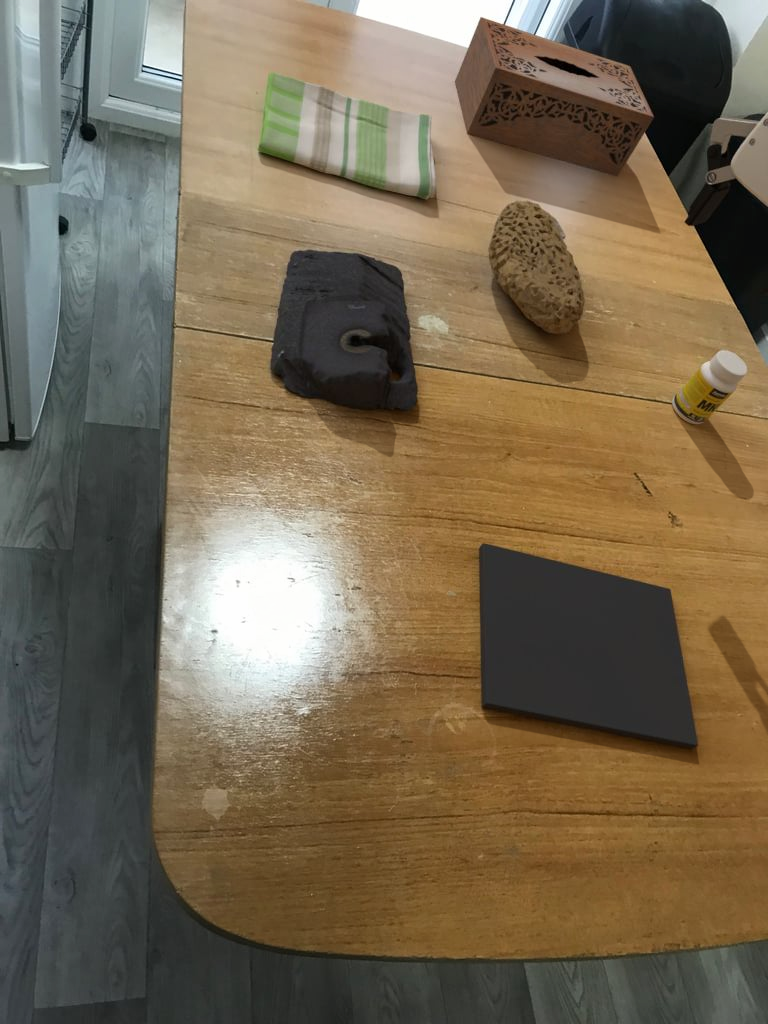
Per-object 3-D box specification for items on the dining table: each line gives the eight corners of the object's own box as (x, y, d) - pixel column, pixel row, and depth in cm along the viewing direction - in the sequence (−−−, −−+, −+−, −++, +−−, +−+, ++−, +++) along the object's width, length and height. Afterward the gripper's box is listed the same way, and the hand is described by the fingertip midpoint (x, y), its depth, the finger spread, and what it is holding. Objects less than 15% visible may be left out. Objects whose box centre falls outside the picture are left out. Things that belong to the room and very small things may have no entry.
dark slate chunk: (413, 285, 98) (427, 253, 95) (413, 425, 85) (430, 393, 81) (285, 249, 94) (295, 214, 91) (265, 388, 81) (276, 354, 78)
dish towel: (431, 207, 109) (441, 183, 106) (256, 156, 103) (262, 130, 100) (425, 134, 119) (434, 111, 116) (265, 85, 113) (270, 59, 110)
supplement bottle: (682, 426, 100) (727, 378, 93) (664, 396, 102) (706, 347, 95) (712, 425, 102) (758, 377, 95) (693, 395, 104) (736, 347, 97)
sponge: (479, 232, 111) (471, 294, 96) (515, 182, 107) (513, 238, 91) (557, 287, 115) (562, 355, 99) (596, 240, 110) (607, 304, 94)
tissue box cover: (467, 133, 123) (495, 67, 116) (454, 81, 131) (480, 16, 124) (617, 176, 131) (654, 117, 123) (597, 124, 139) (630, 66, 132)
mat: (664, 593, 83) (670, 588, 82) (691, 749, 73) (698, 745, 73) (478, 548, 79) (482, 542, 78) (481, 708, 69) (486, 703, 68)
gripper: (977, 142, 64) (819, 309, 78) (808, 15, 70) (686, 191, 83) (943, 154, 60) (781, 328, 73) (765, 17, 65) (644, 203, 78)
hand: (731, 255), depth 78 cm, fingers open, 9 cm apart
